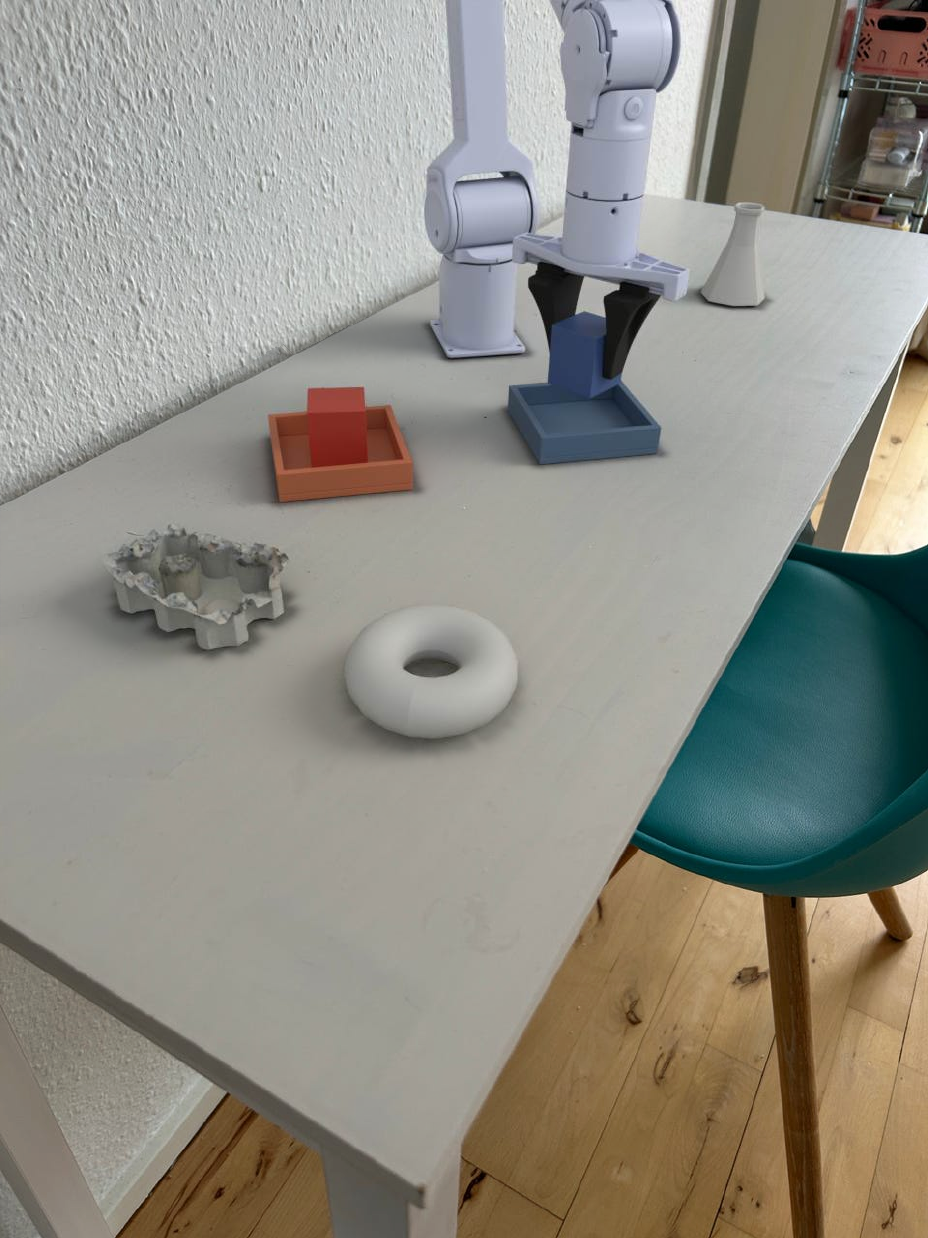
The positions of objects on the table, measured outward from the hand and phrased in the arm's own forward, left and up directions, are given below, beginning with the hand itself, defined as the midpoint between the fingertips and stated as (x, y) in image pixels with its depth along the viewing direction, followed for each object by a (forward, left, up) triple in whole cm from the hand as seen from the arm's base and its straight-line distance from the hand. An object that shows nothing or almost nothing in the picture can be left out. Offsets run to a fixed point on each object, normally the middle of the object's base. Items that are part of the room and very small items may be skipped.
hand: (586, 367), depth 78 cm
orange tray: (+2, -21, -6) cm, 22 cm away
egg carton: (+19, -32, -6) cm, 38 cm away
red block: (+2, -21, -5) cm, 22 cm away
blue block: (0, 0, -1) cm, 1 cm away
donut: (+30, -19, -6) cm, 36 cm away
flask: (-29, +28, -6) cm, 41 cm away
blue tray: (0, 0, -6) cm, 6 cm away
